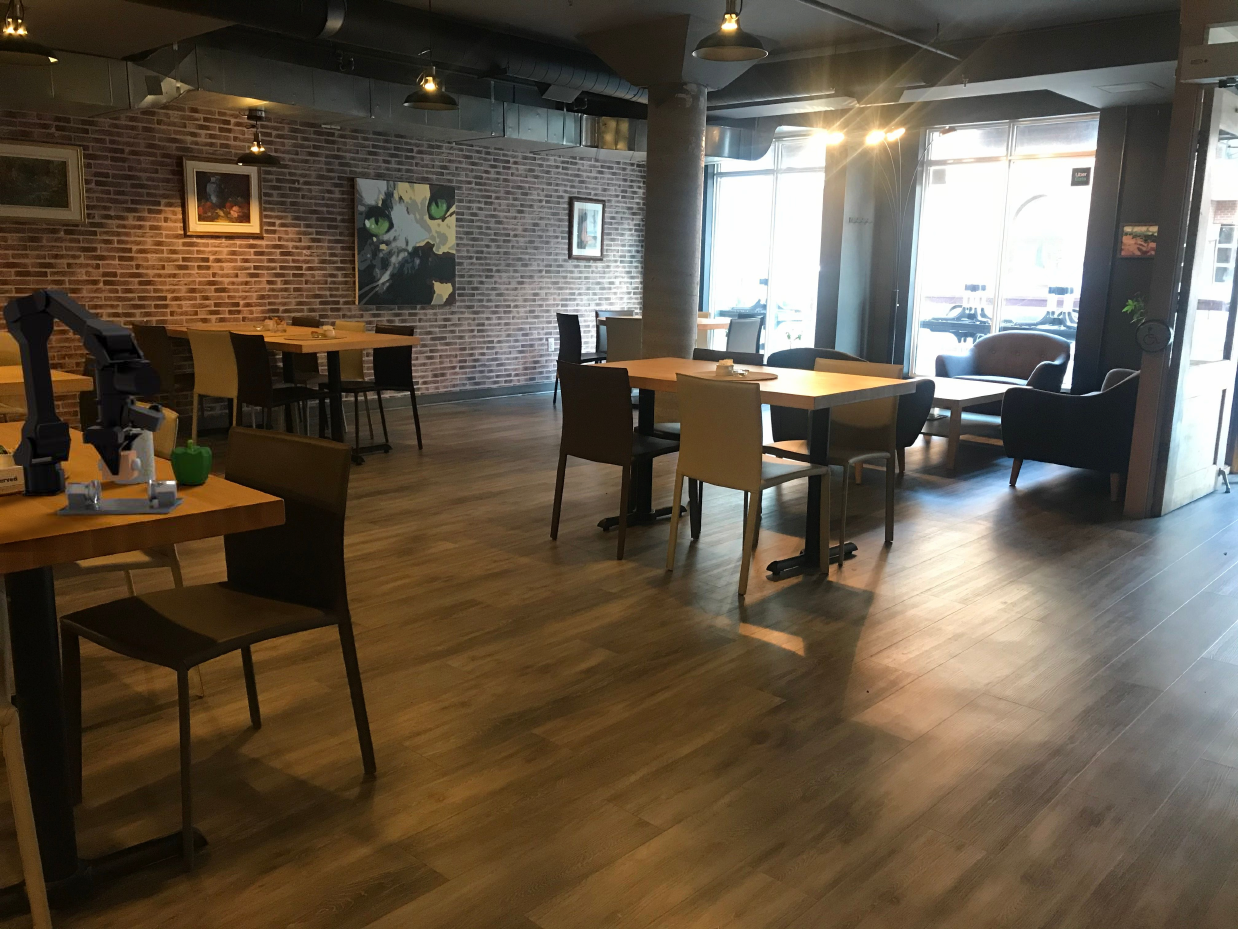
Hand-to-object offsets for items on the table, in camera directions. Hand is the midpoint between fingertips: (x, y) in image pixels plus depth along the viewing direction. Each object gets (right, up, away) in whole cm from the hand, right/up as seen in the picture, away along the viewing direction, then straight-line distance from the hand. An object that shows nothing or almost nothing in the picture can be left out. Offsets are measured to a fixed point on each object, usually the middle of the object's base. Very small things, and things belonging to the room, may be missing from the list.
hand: (119, 472), depth 189 cm
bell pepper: (+3, -3, +25) cm, 25 cm away
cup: (-10, -2, +27) cm, 29 cm away
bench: (0, -7, +1) cm, 7 cm away
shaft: (+7, -6, +3) cm, 10 cm away
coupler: (0, -1, 0) cm, 1 cm away
